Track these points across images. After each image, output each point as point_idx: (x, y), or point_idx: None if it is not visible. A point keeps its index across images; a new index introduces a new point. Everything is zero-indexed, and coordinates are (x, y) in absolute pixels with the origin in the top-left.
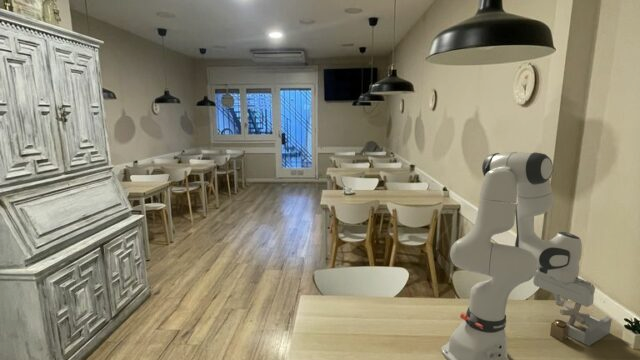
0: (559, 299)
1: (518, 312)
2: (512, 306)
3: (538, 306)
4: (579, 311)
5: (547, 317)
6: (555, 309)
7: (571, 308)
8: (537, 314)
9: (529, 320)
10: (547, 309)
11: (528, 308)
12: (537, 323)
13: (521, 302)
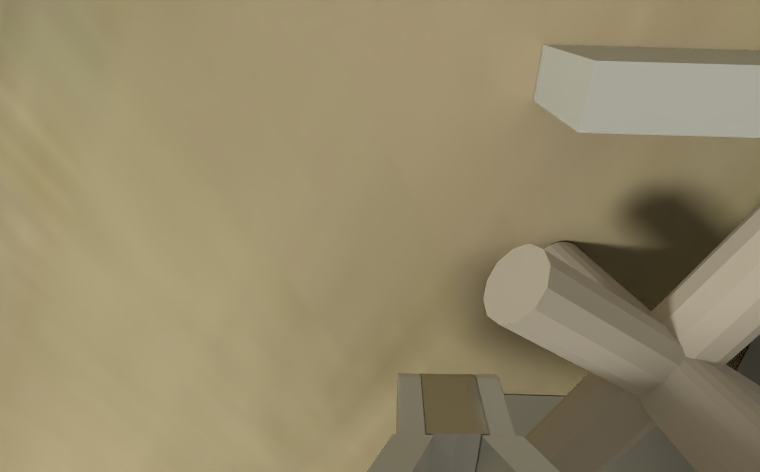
0: (425, 456)
1: (179, 427)
2: (77, 391)
3: (155, 187)
4: (655, 87)
5: (352, 315)
6: (292, 66)
7: (619, 376)
8: (271, 339)
9: (303, 454)
10: (248, 162)
11: (154, 312)
12: (361, 446)
13: (24, 264)
